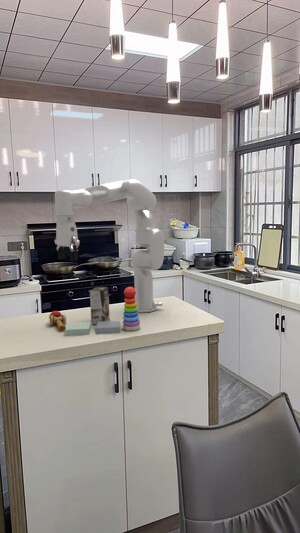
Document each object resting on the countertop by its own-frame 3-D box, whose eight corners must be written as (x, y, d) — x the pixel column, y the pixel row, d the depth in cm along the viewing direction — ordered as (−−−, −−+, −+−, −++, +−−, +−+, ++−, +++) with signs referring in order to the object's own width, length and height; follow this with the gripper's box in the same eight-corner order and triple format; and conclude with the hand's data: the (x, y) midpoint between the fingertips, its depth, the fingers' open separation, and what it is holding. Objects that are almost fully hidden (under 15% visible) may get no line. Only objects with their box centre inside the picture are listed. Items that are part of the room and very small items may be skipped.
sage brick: (91, 328, 169) (90, 322, 168) (89, 335, 159) (89, 328, 158) (68, 329, 168) (68, 323, 168) (65, 336, 158) (65, 329, 158)
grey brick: (120, 326, 170) (119, 320, 169) (120, 333, 160) (119, 326, 159) (97, 328, 169) (97, 321, 169) (96, 335, 159) (96, 328, 159)
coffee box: (104, 325, 172) (102, 290, 170) (90, 324, 173) (89, 290, 171) (110, 319, 181) (108, 286, 178) (97, 319, 182) (95, 286, 180)
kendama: (72, 332, 167) (64, 317, 182) (70, 320, 165) (61, 306, 180) (55, 338, 164) (48, 322, 180) (52, 325, 162) (45, 311, 178)
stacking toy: (120, 327, 167) (118, 286, 165) (136, 325, 170) (135, 284, 168) (125, 332, 160) (124, 289, 158) (143, 329, 163) (141, 287, 161)
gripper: (84, 219, 156) (86, 260, 159) (61, 220, 168) (63, 257, 171) (69, 219, 151) (71, 262, 153) (46, 220, 163) (49, 259, 165)
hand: (67, 259), depth 162 cm, fingers open, 9 cm apart
